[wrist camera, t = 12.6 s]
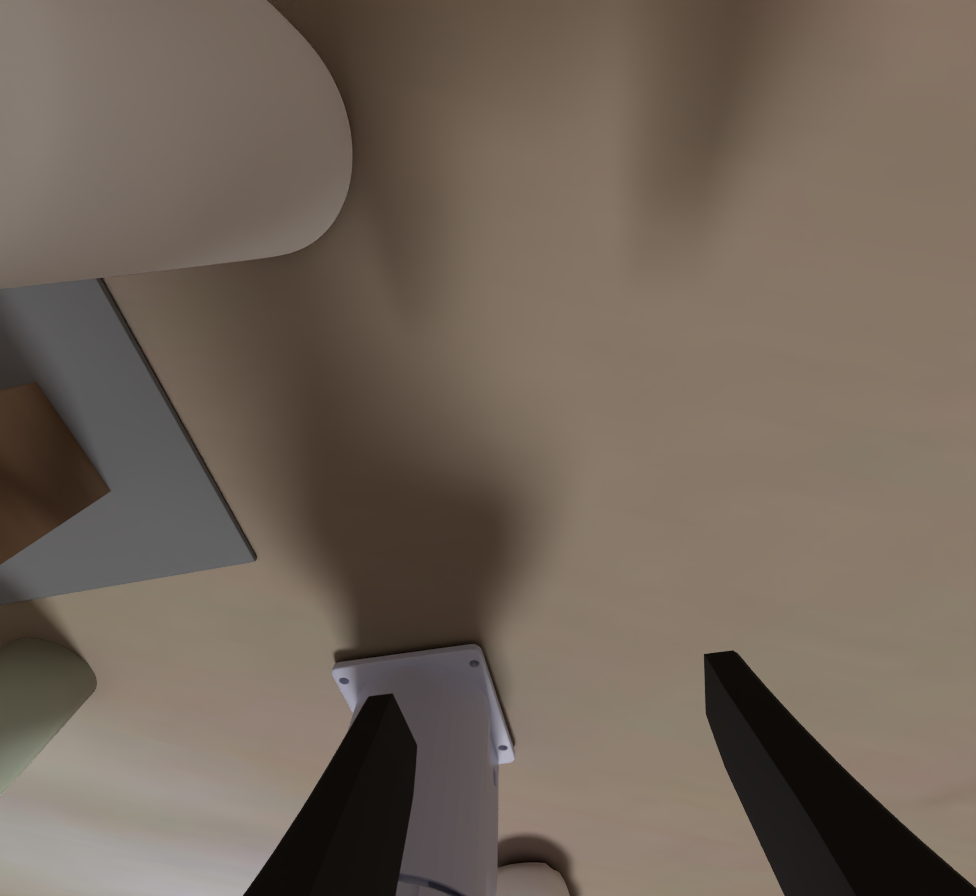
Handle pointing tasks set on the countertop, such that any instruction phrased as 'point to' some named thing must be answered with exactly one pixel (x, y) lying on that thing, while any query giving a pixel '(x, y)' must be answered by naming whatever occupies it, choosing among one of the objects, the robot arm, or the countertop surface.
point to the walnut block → (39, 470)
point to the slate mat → (110, 451)
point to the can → (161, 137)
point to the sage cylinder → (36, 699)
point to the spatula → (530, 880)
